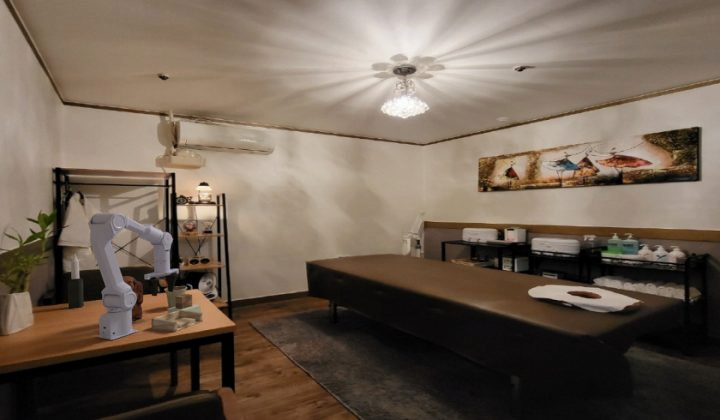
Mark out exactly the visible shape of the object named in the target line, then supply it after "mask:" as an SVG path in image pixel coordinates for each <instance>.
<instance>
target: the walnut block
mask: <svg viewBox="0 0 720 420" xmlns="http://www.w3.org/2000/svg"><path fill="white" fill-rule="evenodd" d="M175 298H176V308H178V309H185V308H188V307H191V306H192V304H193V294H190V293H185V294H183V295H179V296H175Z"/></svg>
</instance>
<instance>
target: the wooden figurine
mask: <svg viewBox="0 0 720 420" xmlns="http://www.w3.org/2000/svg"><path fill="white" fill-rule="evenodd" d="M122 278H123V281H124V282H125V283H126V284H128V285H129V286H130V287H131V289H132V291H133V292H134V293H135V294H136V297H137V300H136V303H135V305H134V306H133V308H132V322H133V321H136V320H138V319H139V320H140V319H143V307H142V305H143V303H144V288H143V287H144V286H143V283H142V282H141V281H138V280H137V279H135V277H132V276H131V275H130V276H129V275H125V276H123V275H122Z"/></svg>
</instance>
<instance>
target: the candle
mask: <svg viewBox="0 0 720 420" xmlns="http://www.w3.org/2000/svg"><path fill="white" fill-rule="evenodd" d="M70 269H71V270H70V271H71V277H70V278H69V279H68V281H67V300H68V309H69V310H71V309H72V310H73V309H80V308H83V307H84V305H85V304H84V303H85V300H84V298H85V297H84V279H83V277H80V261H79V259H78V257H77V254H76V253H74V254H73V257H72V260H70Z"/></svg>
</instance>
